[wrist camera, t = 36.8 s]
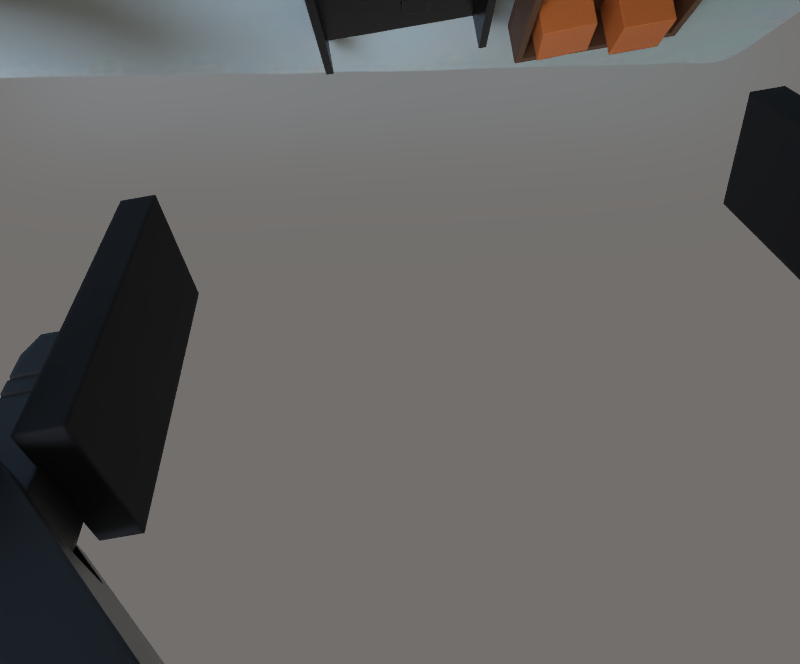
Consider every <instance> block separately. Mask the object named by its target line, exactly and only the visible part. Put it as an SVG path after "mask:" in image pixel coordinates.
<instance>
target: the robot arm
mask: <svg viewBox="0 0 800 664" xmlns="http://www.w3.org/2000/svg"><path fill="white" fill-rule="evenodd" d="M724 205H726V206H727V207H728V208H729V210H730V211H731V212H732V213H733V214H734V215H735V216H736V217H738V219H739V220H740V221H741V222H742V223H744V225H746V226H747V228H749V230H751V231H752V232H753V234H755V235H756V236H757V237H758V238H759V239H760V240H761V241H762V242H763V243H764V244H765V245H766V246H767V247H768V248H769V249H770V250H771V251H772V252H773V253H774V254H775V255H776V256H777V257H778V258H779V259H780V260H781V261H782V262H783V263H784V264H785V265H786V266H787V267H788V268H789V269H790V270H791V271H792V272H793V273H794V274H795V275H796V276H797V277H798V278H799V279H800V95H799V94H797V93H795V92H794V91H792V90H791V89H789V88H787V87H786V86H782V87H777V88H771V89H765V90H760V91H753V92H750V94H749V99H748V103H747V107H746V111H745V116H744V120H743V124H742V128H741V132H740V136H739V141H738V145H737V149H736V153H735V157H734V162H733V166H732V170H731V174H730V178H729V182H728V187H727V191H726V195H725V199H724ZM197 299H198V291H197V289H196V286H195V284H194V282H193V280H192V277H191V275H190V273H189V271H188V268H187V266H186V264H185V261H184V259H183V257H182V255H181V252H180V250H179V248H178V246H177V243H176V241H175V239H174V236H173V234H172V232H171V230H170V227H169V225H168V223H167V221H166V218H165V216H164V214H163V211H162V209H161V207H160V205H159V202H158V200H157V198H156V196H155V195H152V196H146V197H141V198H134V199H129V200H123V201H121V202H120V204H119V206H118V208H117V210H116V212H115V214H114V217H113V219H112V221H111V223H110V225H109V227H108V229H107V231H106V234H105V236H104V238H103V240H102V242H101V244H100V246H99V248H98V251H97V253H96V255H95V257H94V259H93V261H92V263H91V265H90V268H89V270H88V272H87V274H86V276H85V279H84V280H83V282H82V285H81V287H80V289H79V291H78V293H77V295H76V297H75V300H74V302H73V304H72V306H71V308H70V310H69V312H68V315H67V317H66V319H65V321H64V323H63V325H62V327H61V329H60V331H59V332H53V333H47V334H42V335H40V336H39V337H38V338H37V339H36V340H35V341H34V342H33V343H32V344H31V345H30V346H29V347H28V348H27V349H26V350H25V351H24V352H23V353H22V354H21V356H20V357H19V359H18V361H17V363H16V365H15V367H14V369H13V371H12V373H11V375H10V380H9V381H7V383H6V384H5V386H4V388H3V390H2V392H1V398H0V664H164V663H163V661H162V660H161V659H160V657H159V656H158V655H157V653H156V652H155V650H154V649H153V647H152V646H151V645H150V643H149V642H148V641H147V639H146V638H145V636H144V635H143V634H142V632H141V631H140V629H139V628H138V627H137V625H136V624H135V622H134V621H133V620H132V619H131V617H130V616H129V614H128V613H127V611H126V610H125V609H124V607H123V606H122V605H121V603H120V602H119V600H118V599H117V597H116V596H115V595H114V593H113V592H112V590H111V589H110V588H109V586H108V585H107V584H106V582H105V581H104V579H103V578H102V577H101V575H100V574H99V572H98V571H97V570H96V568H95V567H94V566H93V564H92V563H91V561H90V560H89V559H88V557H87V556H86V554H85V553H84V552H83V551H82V550H81V549H80V548H79V546H78V545H77V540H78V537H79V534H80V531H81V528H82V525H83V522H84V523H85V524H86V525H87V527H88V528H89V529H90V530H91V531H92V532H93V534H94V535H95V536H96V537H97V538H98V539H99V540H106V539H112V538H117V537H123V536H129V535H135V534H141V533H144V532H145V528H146V523H147V519H148V515H149V510H150V506H151V502H152V497H153V493H154V488H155V483H156V480H157V475H158V471H159V466H160V462H161V457H162V453H163V449H164V444H165V440H166V435H167V431H168V427H169V422H170V417H171V413H172V409H173V405H174V400H175V395H176V391H177V387H178V383H179V378H180V374H181V369H182V365H183V360H184V356H185V351H186V347H187V343H188V338H189V334H190V330H191V325H192V321H193V316H194V312H195V308H196V303H197Z"/></svg>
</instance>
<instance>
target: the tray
mask: <svg viewBox="0 0 800 664" xmlns="http://www.w3.org/2000/svg"><path fill="white" fill-rule="evenodd" d="M542 1H543V0H515V2H514V5H513V9H512V13H511V16H510V20H509V24H508V29H509V35H510V40H511V45H512V51H513V56H514V62H515V63H519V62H525V61H531V60H536V59H537V58H536V53H535V48H534V42H533V37H532V29H533V27H534V24H535V21H536V18H537V15H538V12H539V9H540V6H541V4H542ZM593 1H594V6H595V11H596V17H597V22H598V23H597V26H596V28H595V31H594V34H593V36H592V39H591V41H590V44H589V46H588V49H587V50H584V51H588V50H594V49H600V48H606V47H607V42H606V37H605V32H604V27H603V22H602V17H601V12H600V8H601V6H602V4H603V2H604V0H593ZM701 1H702V0H673V2H674V7H675V12H676V17H677V20H676V21H675V22H674V24H673V25H672V26H671V28H670V29H669V31H668V32H667V33H666V35H665V36H664V37H669V36H674V35H675V34H676V33H677V32H678V31H679V29H680V28H681V27H682V26H683V24H684V23H685V22H686V20H687V19H688V18H689V17H690V15H691V14H692V13H693V11H694V10H695V9H696V8H697V6H698V5H699V4H700V2H701ZM580 52H583V51H580ZM575 53H577V52H575ZM570 54H571V53H570Z"/></svg>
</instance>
